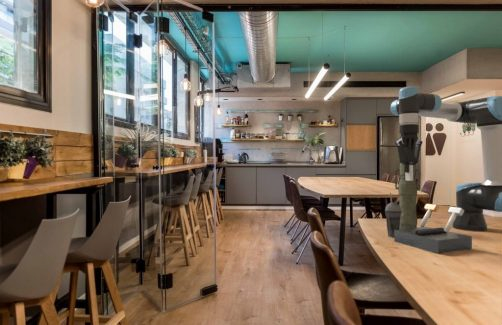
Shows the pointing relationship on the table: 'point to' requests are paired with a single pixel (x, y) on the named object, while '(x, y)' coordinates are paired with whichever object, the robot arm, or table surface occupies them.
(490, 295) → the table surface
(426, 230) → the cord bundle
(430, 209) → the orange mallet
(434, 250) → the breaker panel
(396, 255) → the table surface
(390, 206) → the beverage cup
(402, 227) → the thermos
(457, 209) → the white toy hammer
